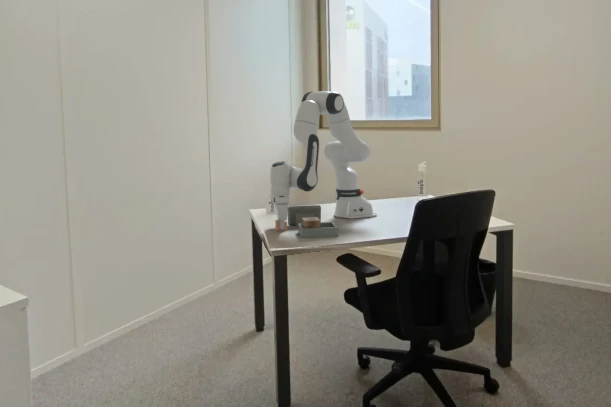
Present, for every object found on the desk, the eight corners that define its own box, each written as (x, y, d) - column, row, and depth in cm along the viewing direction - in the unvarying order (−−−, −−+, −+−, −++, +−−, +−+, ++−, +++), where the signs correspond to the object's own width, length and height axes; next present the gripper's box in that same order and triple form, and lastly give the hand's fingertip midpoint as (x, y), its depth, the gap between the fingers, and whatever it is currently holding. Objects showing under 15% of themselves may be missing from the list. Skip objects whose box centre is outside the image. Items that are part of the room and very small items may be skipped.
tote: (333, 232, 260) (332, 221, 260) (338, 238, 249) (338, 227, 248) (298, 234, 258) (298, 223, 257) (302, 240, 247) (301, 229, 246)
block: (317, 232, 257) (317, 217, 256) (320, 236, 250) (320, 220, 248) (302, 232, 256) (301, 217, 255) (304, 236, 249) (304, 221, 247)
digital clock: (322, 224, 278) (321, 203, 276) (320, 228, 269) (319, 206, 267) (289, 224, 280) (288, 203, 278) (286, 228, 271) (285, 206, 269)
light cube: (286, 230, 268) (285, 219, 267) (287, 232, 263) (287, 221, 262) (275, 230, 267) (275, 220, 266) (276, 233, 262) (276, 222, 262)
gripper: (271, 194, 272) (272, 222, 274) (275, 200, 252) (276, 231, 254) (284, 193, 273) (285, 221, 275) (289, 200, 253) (290, 230, 255)
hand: (281, 226), depth 265 cm, fingers open, 8 cm apart
